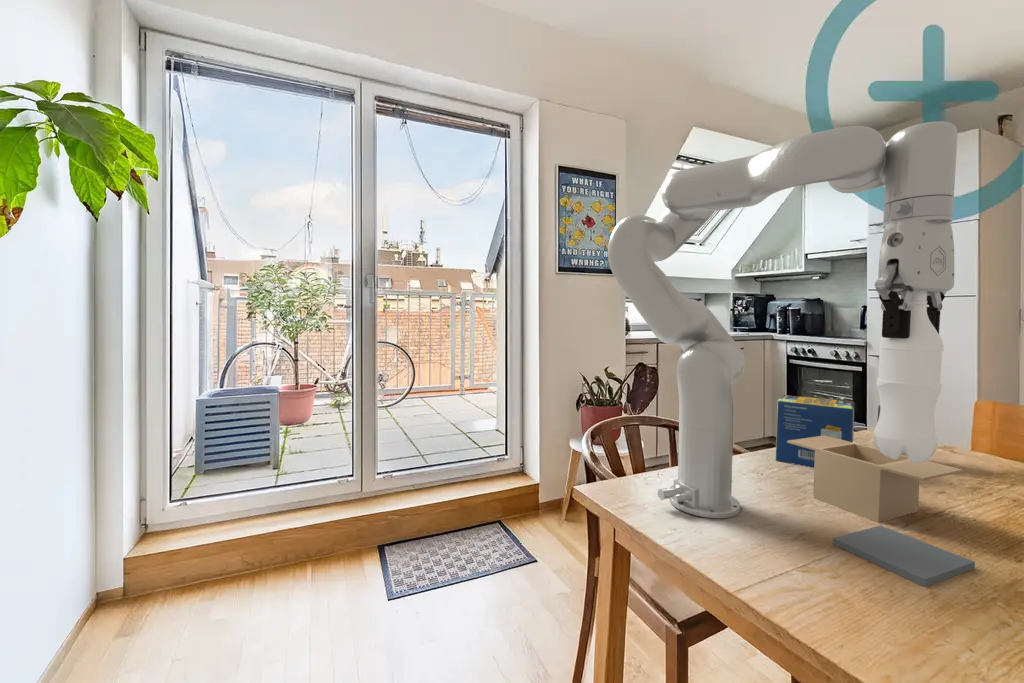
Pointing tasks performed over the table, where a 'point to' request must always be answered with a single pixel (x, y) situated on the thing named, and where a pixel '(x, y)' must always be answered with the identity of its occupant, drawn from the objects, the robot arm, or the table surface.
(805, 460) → the protein box
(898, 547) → the slate mat
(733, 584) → the table surface
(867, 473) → the carton
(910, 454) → the water bottle
